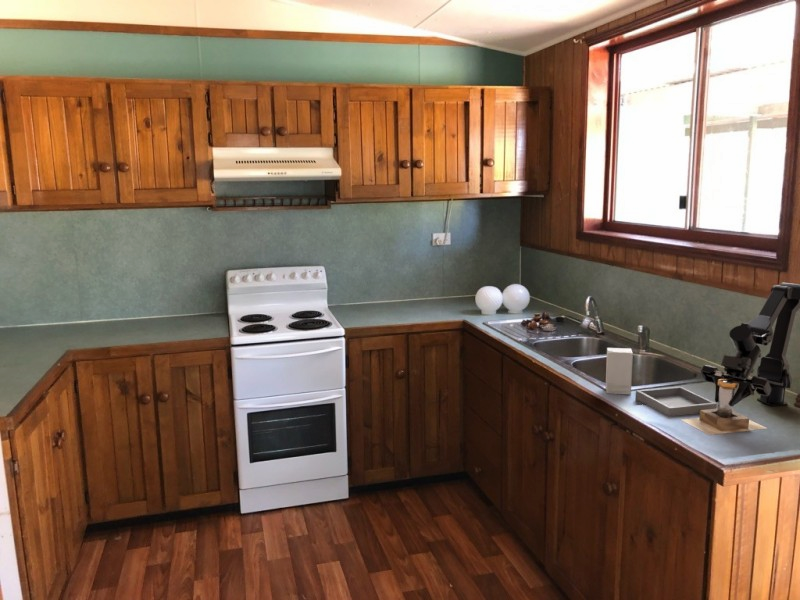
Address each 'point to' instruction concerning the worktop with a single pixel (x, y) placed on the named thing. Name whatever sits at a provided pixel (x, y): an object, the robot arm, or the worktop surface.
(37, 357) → the worktop surface
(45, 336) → the worktop surface
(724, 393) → the pin
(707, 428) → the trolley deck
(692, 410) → the tray
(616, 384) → the skincare box
